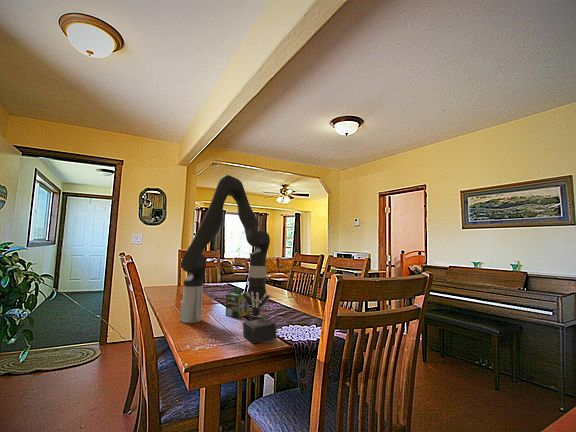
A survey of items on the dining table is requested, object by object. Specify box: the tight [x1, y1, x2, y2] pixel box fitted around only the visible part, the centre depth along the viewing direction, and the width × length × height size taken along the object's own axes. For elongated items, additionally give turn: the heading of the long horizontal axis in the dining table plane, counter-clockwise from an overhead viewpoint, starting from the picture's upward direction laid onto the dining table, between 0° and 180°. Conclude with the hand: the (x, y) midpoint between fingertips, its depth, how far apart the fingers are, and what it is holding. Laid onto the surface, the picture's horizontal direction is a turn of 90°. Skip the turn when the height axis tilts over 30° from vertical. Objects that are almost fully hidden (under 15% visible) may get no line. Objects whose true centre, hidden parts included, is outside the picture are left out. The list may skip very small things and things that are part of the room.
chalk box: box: [225, 287, 250, 319], centre depth 164 cm, size 9×9×15 cm
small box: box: [242, 317, 277, 344], centre depth 127 cm, size 11×6×10 cm
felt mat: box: [261, 333, 280, 344], centre depth 128 cm, size 4×11×1 cm, turn 161°
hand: (256, 315), depth 135 cm, fingers closed
